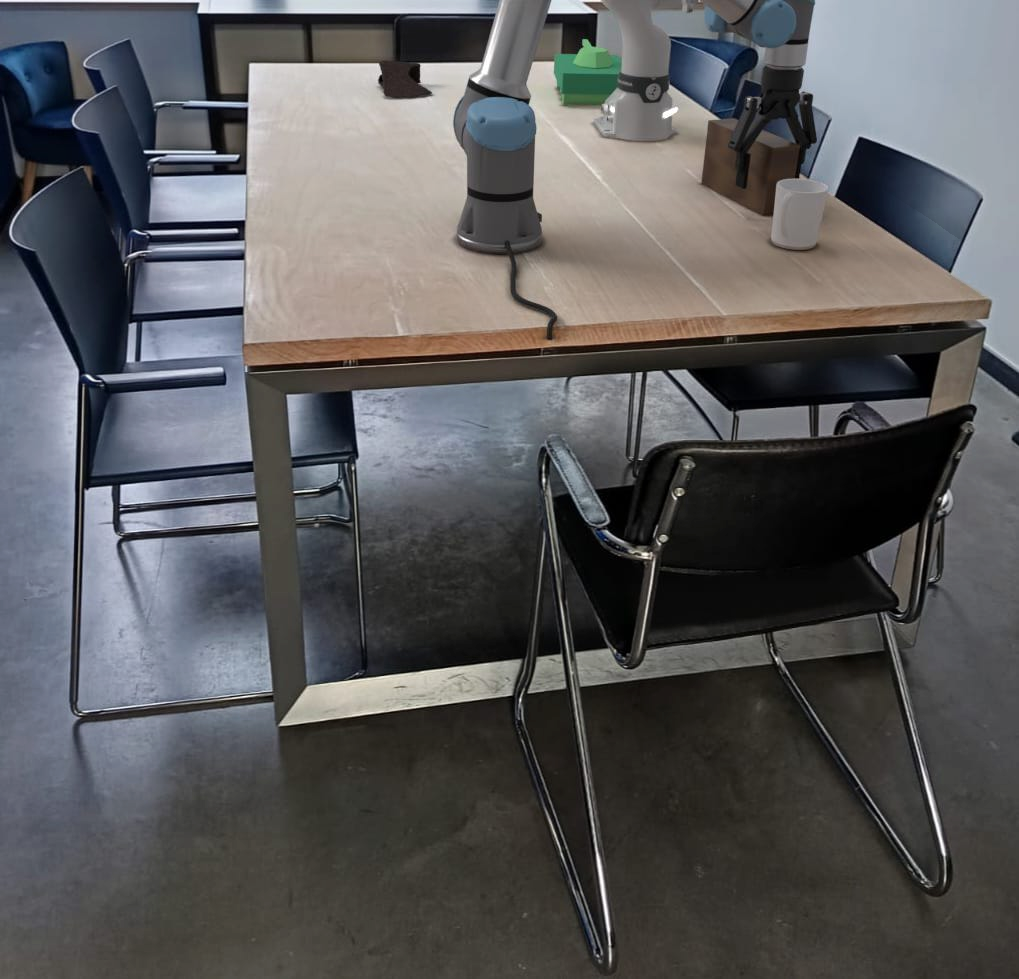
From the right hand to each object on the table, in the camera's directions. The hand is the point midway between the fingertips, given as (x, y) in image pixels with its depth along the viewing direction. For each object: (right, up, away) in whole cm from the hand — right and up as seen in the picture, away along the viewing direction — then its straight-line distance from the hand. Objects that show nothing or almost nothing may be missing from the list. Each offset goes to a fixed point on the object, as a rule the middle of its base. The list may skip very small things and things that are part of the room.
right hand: (707, 11), depth 224 cm
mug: (+10, -54, -27) cm, 61 cm away
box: (+7, -39, -3) cm, 40 cm away
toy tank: (-19, +11, +78) cm, 81 cm away
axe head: (-70, +11, +76) cm, 104 cm away
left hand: (+10, -38, -11) cm, 41 cm away
